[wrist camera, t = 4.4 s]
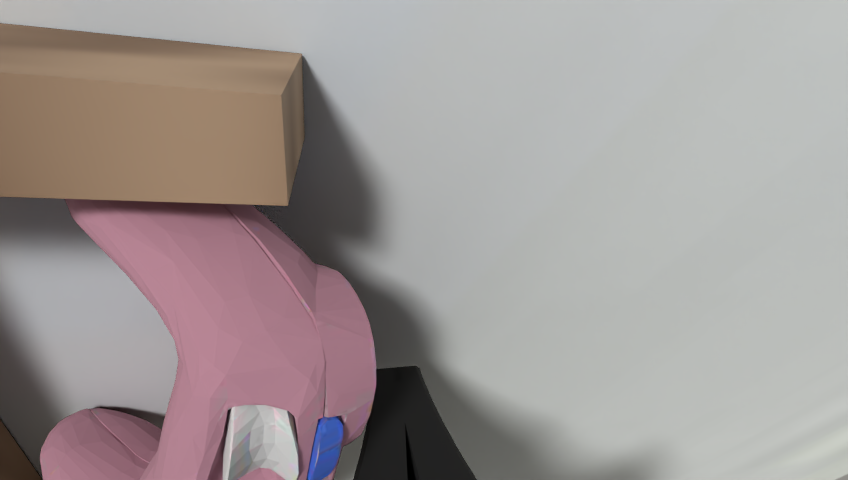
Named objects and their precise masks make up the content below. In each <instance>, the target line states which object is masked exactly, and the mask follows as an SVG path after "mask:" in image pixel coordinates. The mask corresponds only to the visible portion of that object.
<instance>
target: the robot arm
mask: <svg viewBox="0 0 848 480" xmlns="http://www.w3.org/2000/svg"><path fill="white" fill-rule="evenodd" d="M353 480H477V479H476V478H475V476H474V475H473V473H472V471H471V470H470V468H469V466H468V465H467V463H466V462H465V460H464V458H463V457H462V455H461V453H460V452H459V450H458V448H457V447H456V445H455V443H454V441H453V439H452V437H451V436H450V434H449V432H448V430H447V428H446V427H445V425H444V423H443V421H442V419H441V417H440V415H439V413H438V411H437V409H436V407H435V405H434V403H433V401H432V399H431V396H430V394H429V392H428V389H427V387H426V385H425V382H424V380H423V377H422V374H421V371H420V368H418V367H417V366H409V367H397V368H385V369H376V389H375V394H374V400H373V404H372V409H371V413H370V416H369V419H368V422H367V426H366V431H365V435H364V440H363V445H362V449H361V453H360V457H359V461H358V464H357V468H356V471H355V475H354V479H353Z"/></svg>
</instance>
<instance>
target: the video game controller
mask: <svg viewBox="0 0 848 480" xmlns="http://www.w3.org/2000/svg"><path fill="white" fill-rule="evenodd" d="M65 201H66V203H67V206H68V209H69V211H70V214H71V216H72V218H73V219H74V220H75V221H76V223H77V224H78V225H79V226H80V227H81V228H82V229H83V230H84V231H85V232H86V233H87V234H88V235H89V236H90V238H91V239H92V240H93V241H94V242H95V243H96V244H97V245H98V246H99V247H100V248H101V249H102V250H103V251H104V252H105V253H106V254H107V255H108V256H109V257H110V258H111V259H112V260H113V261H114V262H115V263H116V264H117V265H118V266H119V267H120V268H121V269H122V270H123V271H124V272H125V273H126V274H127V276H128V277H129V278H130V279H131V280H132V281H133V283H134V284H135V285H136V286H137V287H138V288H139V290H140V291H141V292H142V293H143V294H144V295H145V297H146V298H147V299H148V300H149V301H150V303H151V304H152V305H153V306H154V307H155V308H156V310H157V311H158V313H159V315H160V316H161V318H162V320H163V321H164V323H165V325H166V327H167V328H168V330H169V332H170V333H171V335H172V337H173V338H174V340H175V345H176V349H177V354H178V359H179V361H178V367H177V374H176V380H175V384H174V387H173V391H172V394H171V398H170V401H169V405H168V408H167V412H166V415H165V419H164V423H163V427H162V429H160V428H159V427H157V426H155V425H153V424H152V423H150V422H148V421H146V420H144V419H141V418H138V417H135V416H133V415H130V414H127V413H123V412H119V411H114V410H108V409H102V408H93V409H84V410H81V411H78V412H76V413H74V414H72V415H70V416H68V417H66V418H64V419H63V420H61V421H60V422H59V423H58V424H57V425H56V426H55V427H54V428H53V429H52V430H51V431H50V432H49V434H48V436H47V438H46V440H45V442H44V444H43V446H42V448H41V453H40V463H41V470H42V476H43V480H333V479H334V476H335V472H336V468H337V465H338V461H339V458H340V454H341V451H342V447H343V446H345V445H347V444H349V443H351V442H352V441H353V440H355V439H356V438H357V437H358V436H360V435H361V434H362V432H363V429H364V427H365V425H366V423H367V421H368V419H369V416H370V413H371V409H372V404H373V400H374V394H375V389H376V357H375V347H374V340H373V336H372V332H371V327H370V323H369V320H368V318H367V315H366V312H365V310H364V307H363V305H362V303H361V301H360V300H359V298H358V296H357V294H356V292H355V291H354V289H353V288H352V286H351V285H350V283H349V282H348V281H347V280H346V278H345V277H344V276H343V275H342V274H341V273H340V272H338V271H336V270H334V269H331V268H329V267H327V266H323V265H319V264H315V263H313V262H312V260H311V259H310V258H309V257H308V256H307V255H306V254H305V253H304V252H303V251H302V250H301V249H300V248H299V247H298V246H297V245H296V244H295V243H294V242H293V241H292V240H291V239H290V238H289V237H288V236H287V235H286V234H285V233H284V232H283V231H281V230H280V229H279V228H278V227H277V226H276V225H275V224H274V223H272V222H271V221H270V220H269V219H268V218H267V217H265V216H264V215H263V214H262V213H261V212H260V211H259V210H257V209H256V208H255V207H254V206H253V205H246V204H215V203H184V202H153V201H121V200H90V199H65Z"/></svg>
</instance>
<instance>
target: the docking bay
mask: <svg viewBox="0 0 848 480" xmlns="http://www.w3.org/2000/svg"><path fill="white" fill-rule="evenodd" d="M304 138H305V131H304V101H303V71H302V54H299V53H289V52H279V51H269V50H259V49H249V48H240V47H230V46H220V45H210V44H200V43H190V42H180V41H170V40H161V39H151V38H141V37H131V36H121V35H111V34H101V33H91V32H82V31H72V30H62V29H52V28H42V27H32V26H22V25H13V24H3V23H0V197H28V198H59V199H90V200H121V201H153V202H184V203H215V204H246V205H278V206H288V203H289V199H290V195H291V191H292V187H293V183H294V179H295V175H296V171H297V166H298V162H299V158H300V154H301V150H302V146H303V142H304ZM0 480H42V479H41V477H40V476H39V475H38V473H37V472H36V470H35V469H34V467H33V466H32V465H31V463H30V462H29V460H28V459H27V457H26V456H25V455H24V453H23V452H22V450H21V449H20V447H19V446H18V445H17V443H16V442H15V440H14V439H13V437H12V436H11V435H10V433H9V432H8V430H7V429H6V427H5V426H4V425H3V423H2V422H1V420H0Z"/></svg>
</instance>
